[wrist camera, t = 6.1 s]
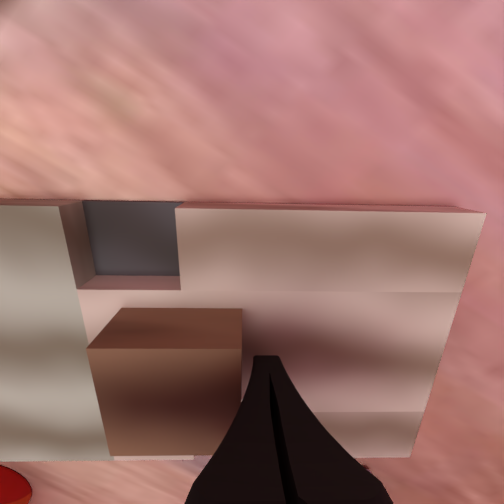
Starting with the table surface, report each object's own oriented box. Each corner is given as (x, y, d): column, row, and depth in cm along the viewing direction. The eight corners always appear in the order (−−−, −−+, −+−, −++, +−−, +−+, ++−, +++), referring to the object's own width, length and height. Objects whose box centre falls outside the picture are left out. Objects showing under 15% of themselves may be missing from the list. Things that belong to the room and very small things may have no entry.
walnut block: (241, 399, 15) (240, 454, 12) (136, 399, 15) (110, 456, 12) (242, 308, 13) (241, 348, 10) (121, 307, 13) (85, 348, 10)
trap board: (393, 427, 19) (409, 457, 17) (26, 430, 18) (0, 461, 16) (452, 206, 14) (486, 213, 12) (-58, 197, 13) (-110, 203, 11)
